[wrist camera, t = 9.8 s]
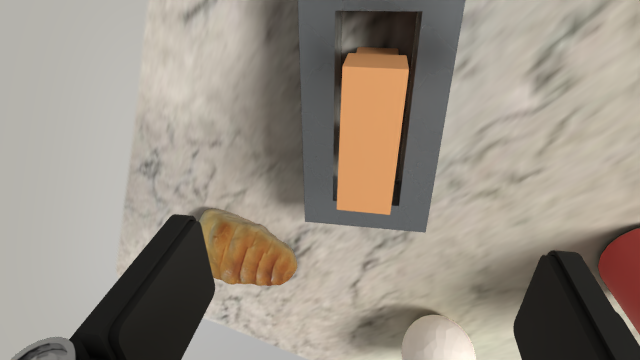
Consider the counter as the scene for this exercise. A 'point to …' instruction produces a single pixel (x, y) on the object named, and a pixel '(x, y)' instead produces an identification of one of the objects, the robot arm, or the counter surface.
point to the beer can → (624, 273)
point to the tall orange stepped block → (370, 128)
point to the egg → (436, 340)
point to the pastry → (245, 250)
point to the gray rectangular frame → (420, 119)
